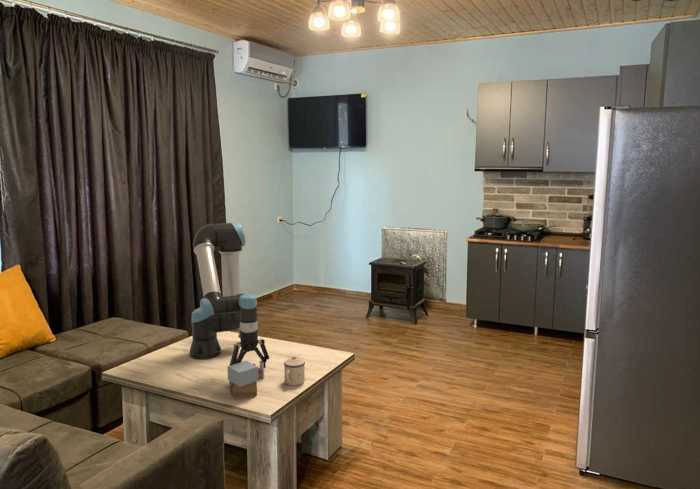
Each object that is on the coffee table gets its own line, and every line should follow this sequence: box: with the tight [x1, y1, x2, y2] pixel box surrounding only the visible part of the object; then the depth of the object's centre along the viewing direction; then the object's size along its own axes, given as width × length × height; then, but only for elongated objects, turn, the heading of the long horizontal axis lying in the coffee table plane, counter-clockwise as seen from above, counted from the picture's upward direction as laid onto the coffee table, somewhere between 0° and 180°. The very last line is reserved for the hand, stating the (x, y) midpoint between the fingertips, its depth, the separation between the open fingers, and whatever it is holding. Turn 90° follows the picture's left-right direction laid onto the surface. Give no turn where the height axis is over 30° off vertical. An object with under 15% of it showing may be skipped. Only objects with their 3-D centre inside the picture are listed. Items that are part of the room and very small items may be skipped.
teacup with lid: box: [283, 355, 306, 386], centre depth 233 cm, size 12×9×12 cm
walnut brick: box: [228, 380, 258, 401], centre depth 222 cm, size 9×9×6 cm
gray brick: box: [227, 360, 260, 387], centre depth 221 cm, size 9×9×6 cm
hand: (250, 378), depth 238 cm, fingers open, 11 cm apart
